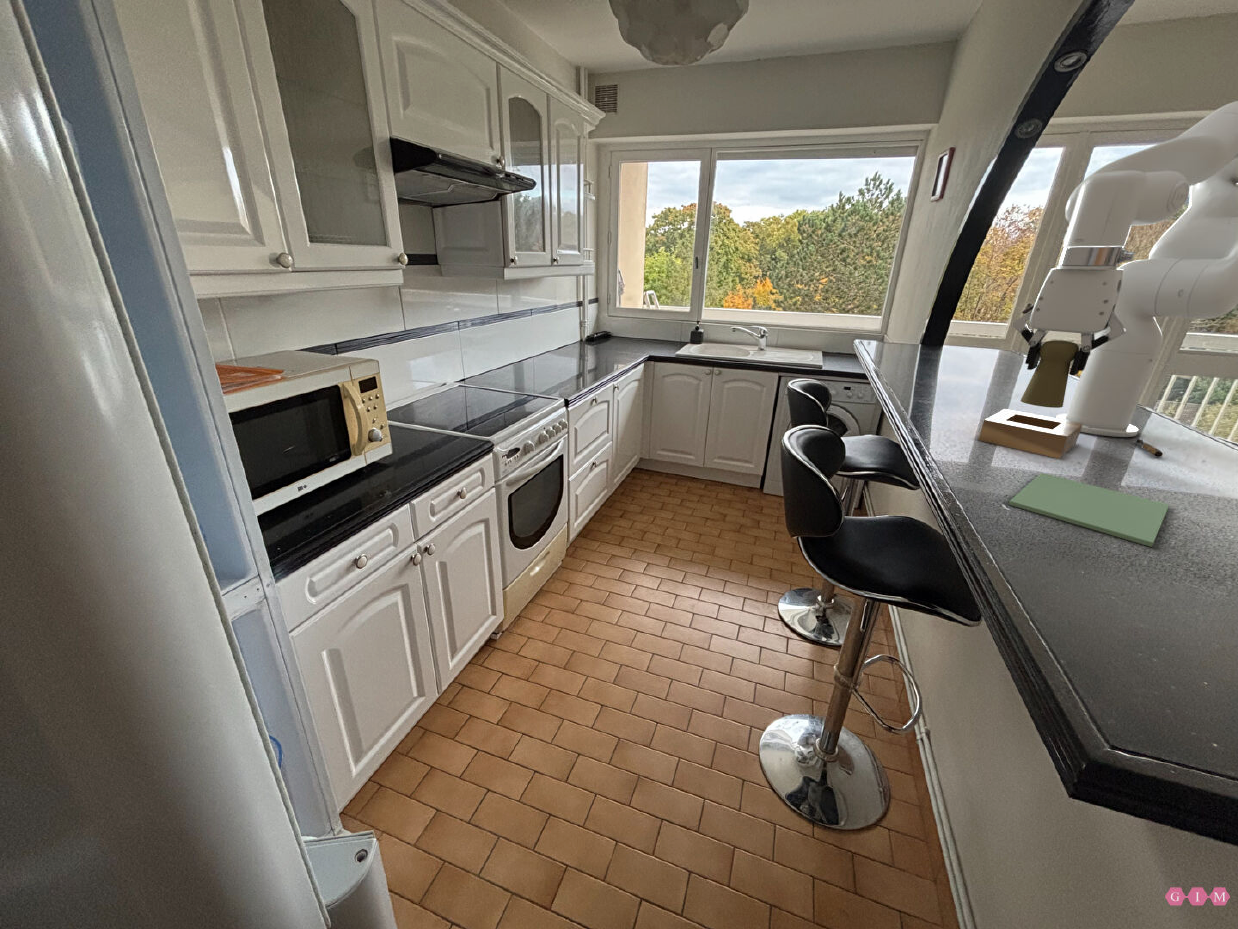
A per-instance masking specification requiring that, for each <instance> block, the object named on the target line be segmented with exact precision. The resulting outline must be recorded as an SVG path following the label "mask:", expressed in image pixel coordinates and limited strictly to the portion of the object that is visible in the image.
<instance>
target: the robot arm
mask: <svg viewBox="0 0 1238 929" xmlns="http://www.w3.org/2000/svg"><path fill="white" fill-rule="evenodd" d="M1188 197H1189V203H1188V208H1187V209H1186V210H1185V211H1184V212H1183V213H1182V214H1181V216H1180V217H1179V218H1177V220H1176V221H1175V222H1173V224H1171V226H1170V227H1169V228H1168V229H1167V230H1165V232H1164V233H1163V234H1162V235H1161V236H1160V238H1158V240H1157V241H1156V242H1155V243H1154V245H1153V246H1152V248H1151V250H1150V251H1149V254H1148V258H1145V259H1137V260H1134V257H1135V255H1136V251H1129V250H1127V249H1126V244H1127V240H1128V238H1129V235H1130V232H1131V229H1132V226H1133V227H1134V226H1148V225H1155V224H1158V223H1162V222H1164V221H1167V220H1169V219H1170V218H1172V217H1173V216H1174V215H1176V214H1177V213H1178V212H1179V211H1180V210H1181V209H1182V208H1183V207H1184V205H1185V203H1186V202H1187V200H1188ZM1064 213H1065V218H1066V221H1067V222H1068V223H1069V224H1068V228H1067V231H1066V234H1065V237H1064V240H1063V243H1062V247H1061V250H1060V253H1059V257H1058V260H1057V262H1056V266H1055V267H1054V268H1050V270H1049V272H1047V275H1046V277H1045V279H1044V281H1043V283H1042V286H1041V288H1040V290H1039V293H1038V295H1037V297H1036V300H1035V303H1034V304H1033V308H1032V309H1030V310H1029V311H1028V312H1026V313H1025V314H1024V315H1022V316H1021V317H1019V318H1018V319H1016V320H1015V321H1014V322H1013V323H1012V326H1013V328H1014V329H1015V330H1016V331H1017V332H1018V333H1020V335H1021V337H1022V338H1023V339H1024V340H1025V341H1026V343H1027V345H1028V347H1029V349H1028V352H1027V356H1026V359H1025V362H1024V364H1026V365H1027V367H1026V370H1027V371H1032V370H1035V369H1036V368H1037V366H1038V364H1039V362H1040V359H1041V358H1040V355H1039V351H1040V348H1041V346H1042V345H1043V342H1042V341H1043V340H1044V339H1045V337H1046V336H1047V335H1048V333H1049V332H1062V333H1074V334H1080V341H1081V342H1080V343H1081V347H1079V351H1078V352H1077V353H1076V355H1075V358H1074V360H1073V361H1072V365H1071V366H1070V369H1069V374H1068V375H1070V376H1073V377H1074V376H1076V375H1078V374H1079V372H1080V371H1081V373H1080V376H1079V379H1078V382H1077V385H1076V386H1075V390H1074V393H1073V396H1072V398H1071V400H1070V404H1069V407H1068V409H1067V412H1066V413H1061V414H1057V415H1056V416H1055V417H1054V418H1056V419H1061V420H1067V421H1072V422H1078V423H1083V426H1082V428H1081V431H1080V433H1085V434H1090V435H1096V436H1103V437H1113V438H1132V437H1135V436H1137V435H1138V432H1139V430H1140V429H1139V428H1138V427H1136V426H1135V425H1133V424H1131V421H1132V420H1133V416H1134V414H1135V411H1136V409H1137V407H1138V405H1139V402H1140V400H1141V397H1142V395H1143V392H1144V390H1145V387H1146V385H1147V382H1148V381H1149V378H1150V376H1151V372H1152V370H1153V368H1154V365H1155V363H1156V360H1157V358H1158V356H1159V353H1160V351H1161V350H1162V349H1161V348H1162V346H1163V342H1164V340H1163V339H1164V338H1163V333H1162V329H1161V328H1160V326H1159V324H1158V322H1157V320H1156V318H1155V317H1168V318H1180V319H1181V318H1182V319H1196V320H1212V319H1217V318H1220V317H1222V316H1225V315H1226V314H1228V313H1230V312H1231V311H1232V310H1233V309H1235V307H1236V306H1237V305H1238V100H1235V101H1233V102H1229V103H1227V104H1224V105H1222V106H1220V107H1219V108H1217V109H1216V110H1214V111H1212V112H1210V113H1209V114H1208V115H1206V116H1205V117H1203V118H1202V119H1201V120H1199V121H1198V122H1197V123H1195V124H1194V125H1193V126H1191V127H1190V128H1188V129H1187V130H1185V131H1184V132H1183V133H1181V134H1180V135H1178V136H1177V137H1174V138H1172V139H1168V140H1165V141H1163V142H1160V143H1157V144H1155V145H1152V146H1150V147H1147V148H1145V149H1142V150H1139V151H1137V152H1134V153H1131V154H1129V155H1126V156H1124V157H1123V156H1122V157H1121V158H1118V159H1116V160H1114V161H1111V162H1109V163H1108V164H1105V165H1104V166H1102V167H1100V168H1099V169H1097V170H1096V171H1095V172H1093V173H1091V174H1090V175H1089V176H1088V177H1086V178H1084V180H1082V181H1081V182H1080V183H1079V184H1078V185H1077V186H1076V187H1075V188H1074V190H1073V191H1072V192H1071V194H1070V196H1069V197H1068V200H1067V201H1066V205H1065V210H1064ZM1125 262H1127V263H1125ZM1122 263H1124V264H1122ZM1120 264H1121V265H1120ZM1118 266H1119V267H1118ZM1028 324H1029V326H1028ZM1029 327H1030V328H1029ZM1031 328H1032V329H1034V330H1035V332H1034V331H1033V330H1032V329H1031Z"/></svg>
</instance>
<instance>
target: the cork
mask: <svg viewBox="0 0 1238 929" xmlns="http://www.w3.org/2000/svg"><path fill="white" fill-rule="evenodd" d="M1041 345H1042V346H1041V348H1040V351H1039V355H1040V358H1039V362H1038V365H1037V367H1036V368H1035V369H1034V370H1035V371H1034V372H1033V374H1032V376H1031V378H1030V380H1029V382H1028V384H1027V386H1026V388H1025V390H1024V393H1022V394H1023V395H1022V396H1021V399H1020V402H1021V403H1022V404H1023V403H1024V404H1026V405H1030V406H1036V407H1042V408H1050V409H1051V408H1053V409H1060V408H1063V407H1064V402H1065V396H1066V391H1067V385H1068V379H1069V375H1070V374H1069V373H1070V370H1071V362H1073V361H1074V358H1075V355H1076V353H1077V352H1078V351H1079V350H1080V346H1079V344H1078V343H1076V342H1073V341H1069V340H1061V339H1054V340H1053V339H1052V340H1047V341H1045V342H1044V343H1042V344H1041Z"/></svg>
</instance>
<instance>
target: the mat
mask: <svg viewBox="0 0 1238 929" xmlns="http://www.w3.org/2000/svg"><path fill="white" fill-rule="evenodd" d="M1008 505H1009V506H1013V507H1015V508H1019V509H1023V510H1026V511H1028V512H1032V513H1036V514H1039V515H1041V516H1046V517H1049V518H1053V519H1056V520H1059V521H1062V522H1065V523H1070V524H1073V525H1077V526H1079V527H1083V528H1085V529H1086V528H1087V529H1090V530H1092V531H1097V532H1099V533H1103V534H1106V535H1110V536H1113V537H1116V538H1120V539H1123V540H1127V541H1129V542H1133V543H1137V544H1140V545H1143V546H1147V547H1150V548H1151V547H1153V545H1154V543H1155V541H1156V538H1157V536H1158V533H1159V531H1160V528H1161V527H1162V524H1163V521H1164V519H1165V517H1166V515H1167V512H1168V511H1169V508H1170V504H1168V503H1164V502H1160V501H1156V500H1152V499H1149V498H1144V497H1140V496H1136V495H1132V494H1128V493H1124V492H1120V491H1117V490H1112V489H1109V488H1106V487H1105V488H1104V487H1101V486H1098V485H1092V484H1088V483H1084V482H1080V481H1076V480H1072V479H1069V478H1064V477H1060V476H1058V475H1057V476H1056V475H1052V474H1049V473H1044V472H1041V473H1039V474H1038V475H1037V476H1036V477H1035V478H1034V479H1032V480H1031V482H1030V483H1028V484H1027V485H1026V486H1024V488H1022V489H1021V490H1020V491H1019V492H1018V493H1017V494H1016V495H1015V496H1014V497H1012V499H1010V500H1009V502H1008Z"/></svg>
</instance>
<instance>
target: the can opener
mask: <svg viewBox="0 0 1238 929" xmlns="http://www.w3.org/2000/svg"><path fill="white" fill-rule="evenodd" d="M1135 444H1138V445H1141V447H1142V449H1144V450H1146V451H1147V452H1148V453H1149V454H1150V455H1152V456H1153V457H1156V458H1161V457H1163V455H1164V454H1163V452H1162V451H1161V450H1160V449H1159V448H1157V447H1154V446H1153V445H1151V444H1149V443H1147V442H1145V441H1144V440H1143V439H1141V438H1137V439H1136V441H1135Z"/></svg>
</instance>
